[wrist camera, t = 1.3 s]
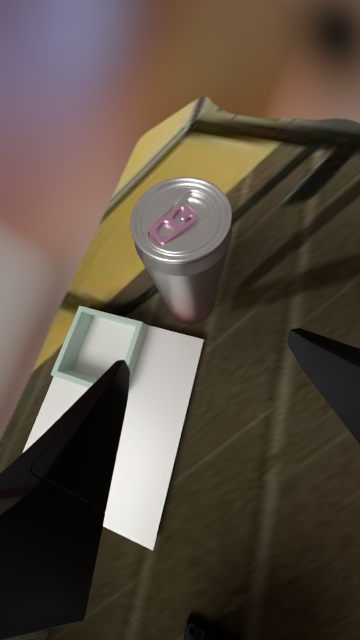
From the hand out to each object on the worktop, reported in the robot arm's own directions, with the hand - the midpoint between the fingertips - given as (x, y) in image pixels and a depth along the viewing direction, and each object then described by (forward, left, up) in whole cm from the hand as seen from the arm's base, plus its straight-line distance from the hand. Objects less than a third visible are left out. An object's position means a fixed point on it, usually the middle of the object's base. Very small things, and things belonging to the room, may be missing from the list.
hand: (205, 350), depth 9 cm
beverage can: (+7, +3, -13) cm, 15 cm away
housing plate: (-9, +9, -13) cm, 18 cm away
